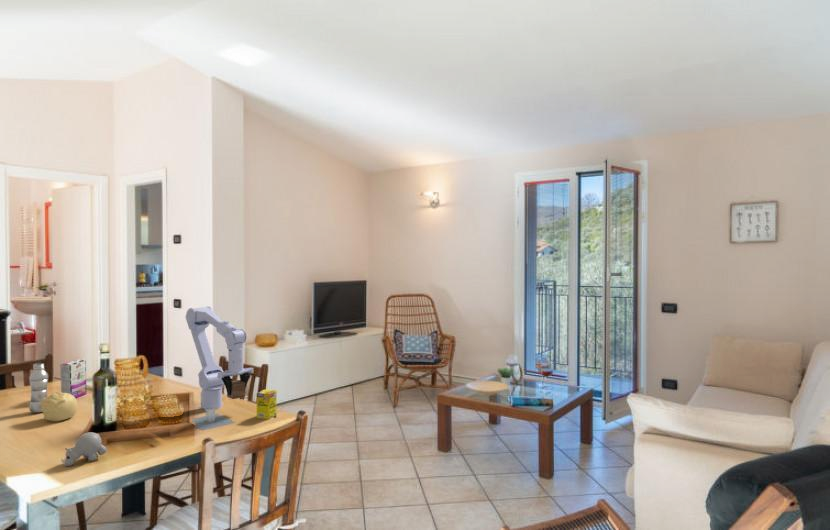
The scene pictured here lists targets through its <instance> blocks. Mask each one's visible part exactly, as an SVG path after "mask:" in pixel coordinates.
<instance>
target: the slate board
mask: <svg viewBox="0 0 830 530" xmlns="http://www.w3.org/2000/svg"><path fill="white" fill-rule="evenodd" d="M193 419H194V423H195V426H194V427H195V428H197V429H199V430H201V431H206V430H210V429H215V428H218V427H219V428H220V427H224V426H229V425H232V424H235V423H236V421H234V420H231V419H230V418H227V417H226V416H223V415H221V414H219V413H215V422H211V423H207V422H206V415H205V416H200V417H196V418H193Z"/></svg>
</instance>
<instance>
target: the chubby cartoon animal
mask: <svg viewBox="0 0 830 530" xmlns="http://www.w3.org/2000/svg"><path fill="white" fill-rule="evenodd" d="M64 450H66V452H65V458H64V459H63V458H61V460H60V461H61V463H62V464H64V466H66V467H71V466H73V465H74V463H75V462H76V461H78V460H79V459H80V458H81V456H83V458H84V460H88V461H89V462H94V461H96V460H97V459H98V457H99V456H102V455H105V454H106V453H107V451H108V449H107V447H106V446H105V445H103V444H102V437H101V436H100V434H99V433H96V432H91V431H90V432H89V431H88V432H85V433H82V434H81V435H80V436H78V438H77V439H76V441H75V444H74V446H73V447H70V448H68V447H65V448H64ZM98 455H99V456H98Z"/></svg>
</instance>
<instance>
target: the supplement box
mask: <svg viewBox="0 0 830 530" xmlns="http://www.w3.org/2000/svg"><path fill="white" fill-rule="evenodd" d="M277 393H278V391H277V390H276V389H274V390H273V389H263V390H261V391H258V392H256V418H257V419H265V420H270V419H272V418H274V419H275V417H276V418H277V409H278V408H277Z"/></svg>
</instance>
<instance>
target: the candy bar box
mask: <svg viewBox="0 0 830 530" xmlns="http://www.w3.org/2000/svg"><path fill="white" fill-rule="evenodd" d="M86 360H87V359H86V358H85V359H78V358H76V359H72V360H70V361H68V362H64V363H61V364H60V367H59V368H60V393H69V394H71V395H73V396H74V397H75V398H76V399H77V398H80V397H82V396H85V395H86V394H87V393H88V392H87V369H86V368H87V365H86V363H87V361H86Z"/></svg>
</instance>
